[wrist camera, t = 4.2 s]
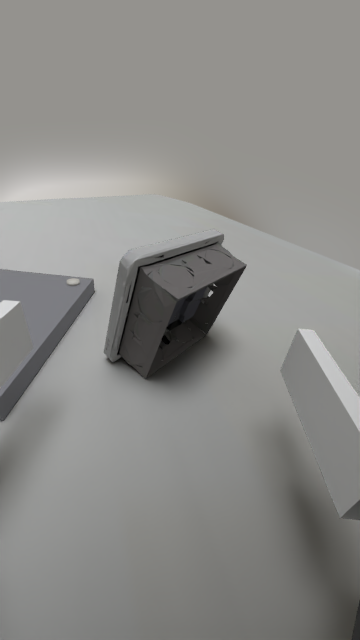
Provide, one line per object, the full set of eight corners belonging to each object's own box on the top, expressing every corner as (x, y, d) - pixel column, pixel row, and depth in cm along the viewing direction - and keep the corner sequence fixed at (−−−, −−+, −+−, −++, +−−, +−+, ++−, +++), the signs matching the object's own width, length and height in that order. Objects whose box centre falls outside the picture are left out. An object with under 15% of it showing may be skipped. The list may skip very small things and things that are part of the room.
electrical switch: (180, 314, 26) (200, 220, 20) (223, 342, 24) (258, 244, 18) (101, 360, 19) (98, 240, 14) (150, 403, 17) (168, 281, 12)
